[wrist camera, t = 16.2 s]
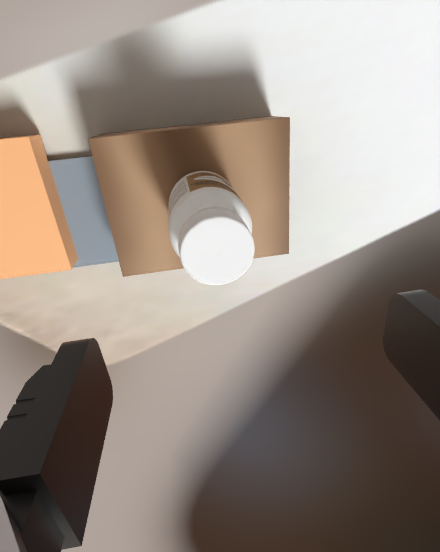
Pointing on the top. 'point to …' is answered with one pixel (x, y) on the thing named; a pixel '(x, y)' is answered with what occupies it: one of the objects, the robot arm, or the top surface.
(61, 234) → the thin peach tile
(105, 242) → the mat
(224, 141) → the block
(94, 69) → the top surface
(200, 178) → the pill bottle
